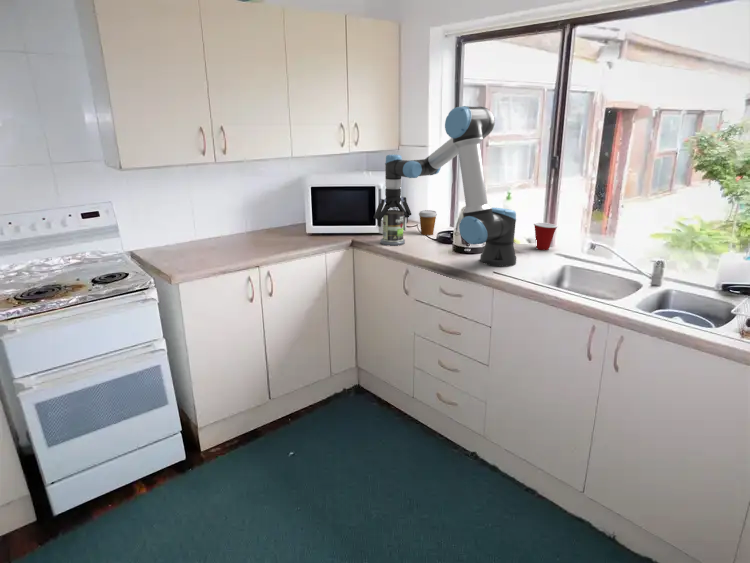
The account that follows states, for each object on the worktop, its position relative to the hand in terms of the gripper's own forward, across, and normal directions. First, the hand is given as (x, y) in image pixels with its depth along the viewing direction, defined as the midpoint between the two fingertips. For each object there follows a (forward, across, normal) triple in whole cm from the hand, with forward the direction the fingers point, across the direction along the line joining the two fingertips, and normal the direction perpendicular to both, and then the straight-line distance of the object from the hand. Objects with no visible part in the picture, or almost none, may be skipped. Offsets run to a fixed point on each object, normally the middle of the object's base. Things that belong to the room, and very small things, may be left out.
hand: (392, 231), depth 246 cm
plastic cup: (+6, -56, +45) cm, 72 cm away
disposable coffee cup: (+6, -26, -7) cm, 28 cm away
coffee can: (+4, 0, 0) cm, 4 cm away
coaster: (+6, 0, 0) cm, 6 cm away
